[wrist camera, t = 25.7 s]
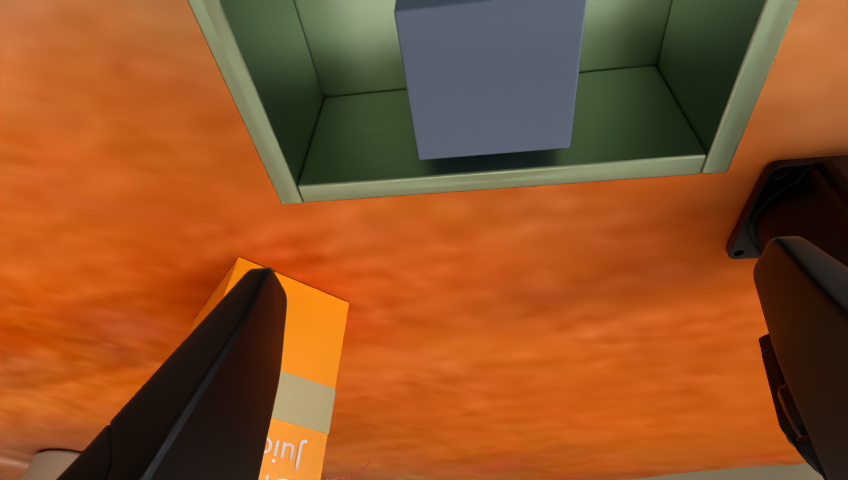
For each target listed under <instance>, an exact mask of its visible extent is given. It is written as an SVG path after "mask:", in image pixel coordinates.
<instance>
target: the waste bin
mask: <svg viewBox="0 0 848 480" xmlns="http://www.w3.org/2000/svg"><path fill="white" fill-rule="evenodd" d="M187 1H188V3H189V5H190V7H191V9H192V12H193V14H194V16H195V18H196V20H197V22H198V25H199V27H200V29H201V31H202V33H203V35H204V38H205V40H206V42H207V44H208V46H209V48H210V50H211V53H212V55H213V57H214V59H215V61H216V63H217V66H218V68H219V70H220V72H221V74H222V76H223V79H224V81H225V83H226V85H227V87H228V89H229V92H230V94H231V96H232V98H233V100H234V102H235V105H236V107H237V109H238V111H239V113H240V115H241V118H242V120H243V122H244V124H245V126H246V128H247V131H248V133H249V135H250V137H251V139H252V141H253V143H254V146H255V148H256V150H257V152H258V154H259V156H260V159H261V161H262V163H263V165H264V167H265V169H266V172H267V174H268V176H269V178H270V180H271V182H272V185H273V187H274V189H275V191H276V193H277V195H278V198H279V200H280V202H281V204H297V203H303V201H304V202H306V203H307V202H320V201H334V200H348V199H362V198H376V197H390V196H404V195H417V194H431V193H445V192H459V191H473V190H487V189H500V188H514V187H528V186H542V185H556V184H570V183H584V182H597V181H611V180H625V179H639V178H653V177H667V176H680V175H694V174H700V172H701V173H702V174H710V173H724V172H727V171H728V169H729V166H730V164H731V162H732V159H733V157H734V154H735V152H736V150H737V147H738V145H739V142H740V140H741V138H742V135H743V133H744V130H745V128H746V126H747V123H748V121H749V118H750V116H751V114H752V111H753V109H754V106H755V104H756V102H757V99H758V97H759V95H760V92H761V90H762V87H763V85H764V83H765V80H766V78H767V75H768V73H769V71H770V68H771V66H772V63H773V61H774V59H775V56H776V54H777V51H778V49H779V47H780V44H781V42H782V39H783V37H784V35H785V32H786V30H787V28H788V25H789V23H790V20H791V18H792V16H793V13H794V11H795V8H796V6H797V4H798V1H799V0H586V7H585V16H584V25H583V34H582V43H581V52H580V61H579V70H578V79H577V89H576V98H575V107H574V116H573V125H572V134H571V143H570V147H569V148H559V149H547V150H535V151H522V152H510V153H498V154H486V155H473V156H461V157H449V158H436V159H424V160H419V158H418V152H417V146H416V140H415V134H414V128H413V122H412V116H411V111H410V105H409V99H408V93H407V87H406V81H405V75H404V69H403V63H402V57H401V51H400V45H399V40H398V34H397V28H396V22H395V16H394V10H395V4H396V0H187Z"/></svg>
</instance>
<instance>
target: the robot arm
mask: <svg viewBox="0 0 848 480" xmlns="http://www.w3.org/2000/svg"><path fill="white" fill-rule="evenodd" d="M778 171H779V172H778ZM776 172H777V173H776ZM726 252H727V254H728V256H729V257H730V258H732V259H744V258H759V260H758V261H757V263H756V265H755V267H754V272H753V276H754V282H755V285H756V289H757V292H758V296H759V299H760V303H761V307H762V310H763V314H764V317H765V321H766V324H767V328H768V331H769V334H767V335H764V336H762V337H760V338H759V343H760V347H761V351H762V358H763V362H764V366H765V370H766V374H767V378H768V382H769V386H770V390H771V394H772V398H773V402H774V406H775V410H776V414H777V418H778V422H779V425H780V428H781V429H782V431H783V432H784V433H785V434H786V437H787V439H788V441H789V442H790V444H791V445H793V446H794V447H795V448H796V449H797V451H798V452H799V453H800V455H801V456H802V457H803V458H804V459H805V460H806V462H807V463H808V464H809V465H810V466H811V467H812V468H813V469H814V470H815V471H817V472H818V473H819V474H821V475H822V476H823V478H824V479H825V480H848V155H847V156H834V157H820V158H806V159H793V160H780V161H775V162H773V163H771V164H769V165H768V166H767V167H766V168H765V169H764V171H763V173H762V175H761V177H760V179H759V181H758V184H757V186H756V188H755V190H754V192H753V194H752V196H751V198H750V200H749V202H748V204H747V206H746V208H745V210H744V212H743V214H742V216H741V218H740V220H739V223H738V225H737V227H736V229H735V231H734V233H733V235H732V237H731V239H730V241H729V243H728V245H727V247H726ZM286 311H287V296H286V292H285V290H284V288H283V287H282V285H281V283H280V281H279V279H278V278H277V276H276V274H275V272H274V271H273V270H272V269H271V268H254V269H250V270H249V271H247V272H246V273H245V274H244V275H243V277H242V278H241V279H240V280H239V281H238V282H237V283H236V284H235V285H234V286H233V288H232V289H231V290H230V291H229V292H228V293H227V294H226V295H225V296H224V297H223V299H222V300H221V301H220V302H219V303H218V304H217V305H216V306H215V307H214V308H213V310H212V311H211V312H210V313H209V314H208V315H207V316H206V317H205V318H204V319H203V321H202V322H201V323H200V324H199V325H198V326H197V327H196V328H195V329H194V330H193V331H192V333H191V334H190V335H189V336H188V337H187V338H186V339H185V340H184V341H183V342H182V344H181V345H180V346H179V347H178V348H177V349H176V350H175V351H174V352H173V353H172V355H171V356H170V357H169V358H168V359H167V360H166V361H165V362H164V363H163V364H162V366H161V367H160V368H159V369H158V370H157V371H156V372H155V373H154V374H153V375H152V377H151V378H150V379H149V380H148V381H147V382H146V383H145V384H144V385H143V386H142V387H141V389H140V390H139V391H138V392H137V393H136V394H135V395H134V396H133V397H132V398H131V400H130V401H129V402H128V403H127V404H126V405H125V406H124V407H123V408H122V409H121V411H120V412H119V413H118V414H117V415H116V416H115V417H114V418H113V419H112V420H111V422H110V425H107V426H106V427H105V428H104V429H103V430H102V431H101V432H100V433H99V435H98V436H97V437H96V438H95V439H94V440H93V441H92V442H91V443H90V444H89V445H88V446H87V448H86V449H85V450H84V451H83V452H82V453H81V454H80V455H79V456H78V457H77V458H76V459H75V460H74V461H73V462H72V463H71V464H70V466H69V467H68V468H67V469H66V470H65V471H64V472H63V473H62V474H61V475H60V476H59V477H58V478H57V479H56V480H258V479H259V474H260V470H261V465H262V460H263V455H264V451H265V446H266V441H267V437H268V432H269V427H270V422H271V418H272V413H273V408H274V403H275V399H276V394H277V389H278V384H279V379H280V373H281V365H282V354H283V344H284V333H285V322H286Z"/></svg>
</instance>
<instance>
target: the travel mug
mask: <svg viewBox="0 0 848 480" xmlns="http://www.w3.org/2000/svg"><path fill="white" fill-rule="evenodd" d="M80 454H81V453H77V452H71V451H62V450H52V451H45V452H41V453H38V454H36V455H35V456H34V457H33V459H32V461H31V463H30V465H29V467H28V468H27V470H26V472H25V474H24V476H23V478H22V479H21V480H56V479H57V478H58V477H59V476H60V475H61V474H62V473H63V472H64V471H65V470H66V469H67V468H68V467H69V466H70V464H71V463H72V462H73V461H74V460H75V459H76V458H77V457H78V456H79V455H80Z"/></svg>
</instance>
